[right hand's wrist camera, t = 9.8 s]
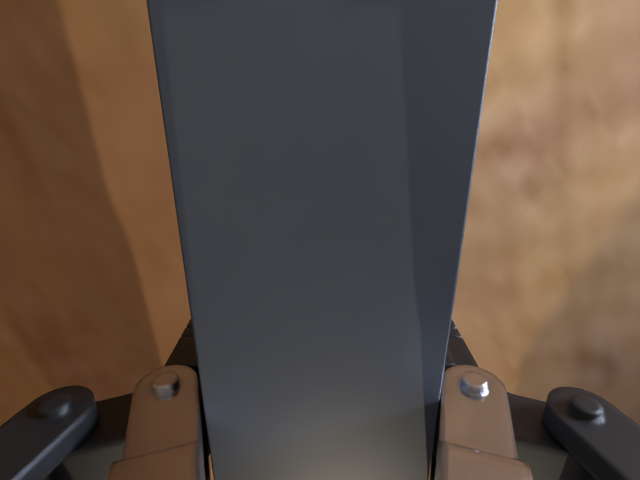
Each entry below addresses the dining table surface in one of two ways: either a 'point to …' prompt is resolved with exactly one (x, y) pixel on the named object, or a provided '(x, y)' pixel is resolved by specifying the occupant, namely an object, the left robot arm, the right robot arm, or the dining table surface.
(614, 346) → the dining table surface
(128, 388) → the dining table surface
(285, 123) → the bar
